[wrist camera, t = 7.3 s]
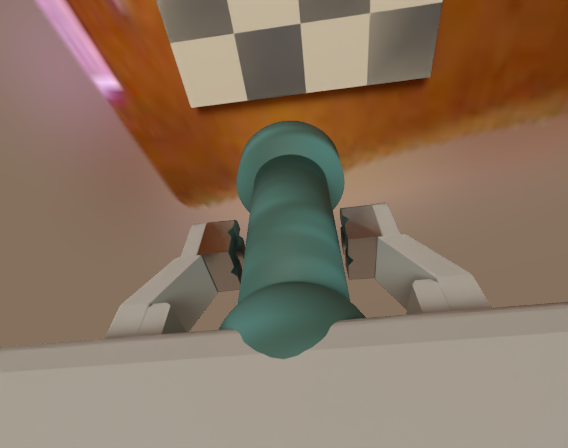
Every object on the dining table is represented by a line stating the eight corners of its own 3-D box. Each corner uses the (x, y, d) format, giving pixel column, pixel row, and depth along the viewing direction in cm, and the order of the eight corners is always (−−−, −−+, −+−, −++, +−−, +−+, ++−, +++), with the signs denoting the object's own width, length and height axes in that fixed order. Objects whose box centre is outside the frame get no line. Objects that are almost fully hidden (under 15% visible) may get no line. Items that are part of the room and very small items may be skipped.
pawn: (337, 113, 12) (450, 437, 4) (340, 202, 15) (410, 502, 7) (229, 128, 13) (125, 452, 4) (251, 212, 16) (214, 508, 7)
